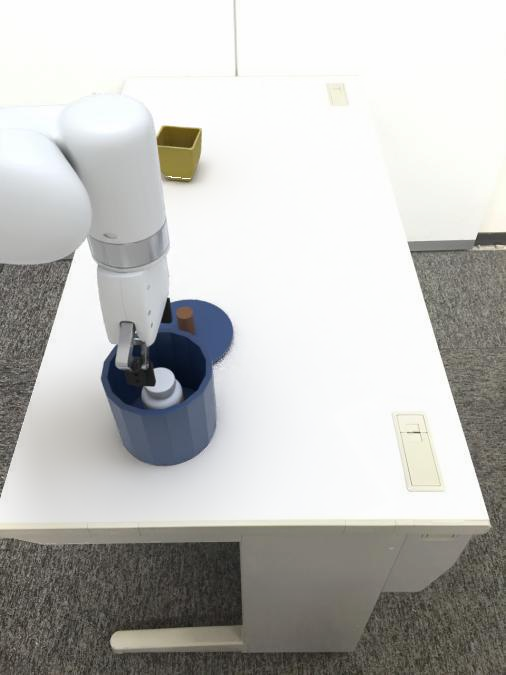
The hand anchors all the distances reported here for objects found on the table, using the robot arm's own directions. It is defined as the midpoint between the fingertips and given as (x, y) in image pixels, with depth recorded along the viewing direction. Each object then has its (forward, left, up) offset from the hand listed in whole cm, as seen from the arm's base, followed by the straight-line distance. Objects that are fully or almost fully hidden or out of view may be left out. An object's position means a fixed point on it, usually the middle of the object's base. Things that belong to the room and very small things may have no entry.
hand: (151, 350), depth 63 cm
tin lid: (+8, +14, -16) cm, 22 cm away
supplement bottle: (0, 0, -16) cm, 16 cm away
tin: (0, 0, -16) cm, 16 cm away
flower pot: (+23, +59, -16) cm, 65 cm away
